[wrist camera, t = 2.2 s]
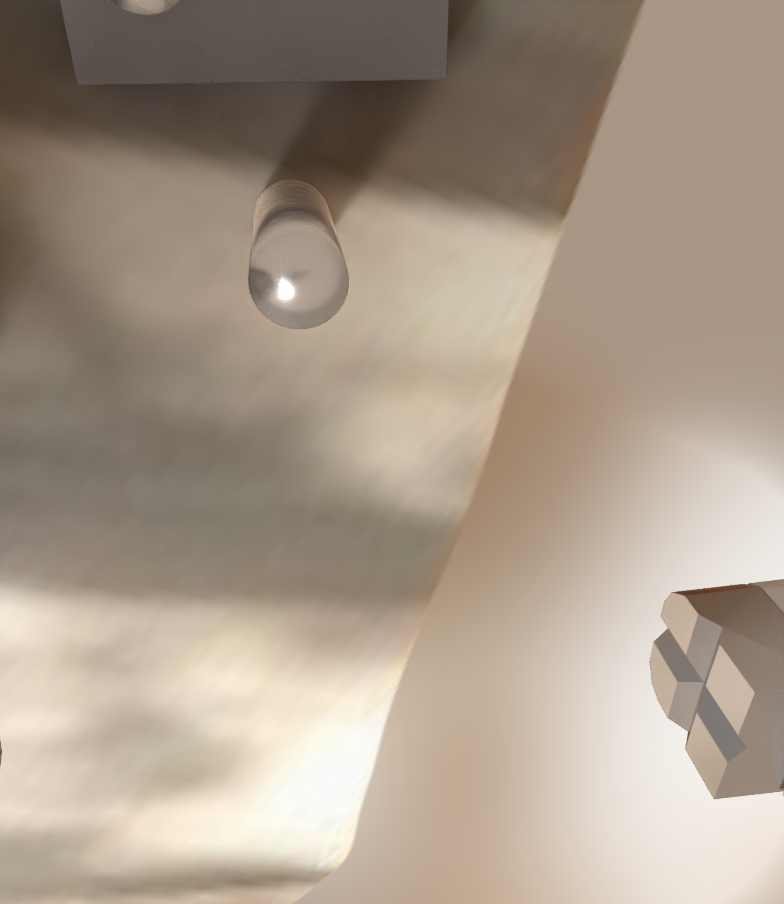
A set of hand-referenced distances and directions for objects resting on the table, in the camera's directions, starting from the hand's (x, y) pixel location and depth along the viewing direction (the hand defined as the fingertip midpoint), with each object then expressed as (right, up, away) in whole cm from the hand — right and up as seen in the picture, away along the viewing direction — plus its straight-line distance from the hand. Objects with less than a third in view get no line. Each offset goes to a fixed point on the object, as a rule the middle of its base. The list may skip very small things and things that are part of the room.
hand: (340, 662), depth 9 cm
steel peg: (-3, +12, +20) cm, 23 cm away
